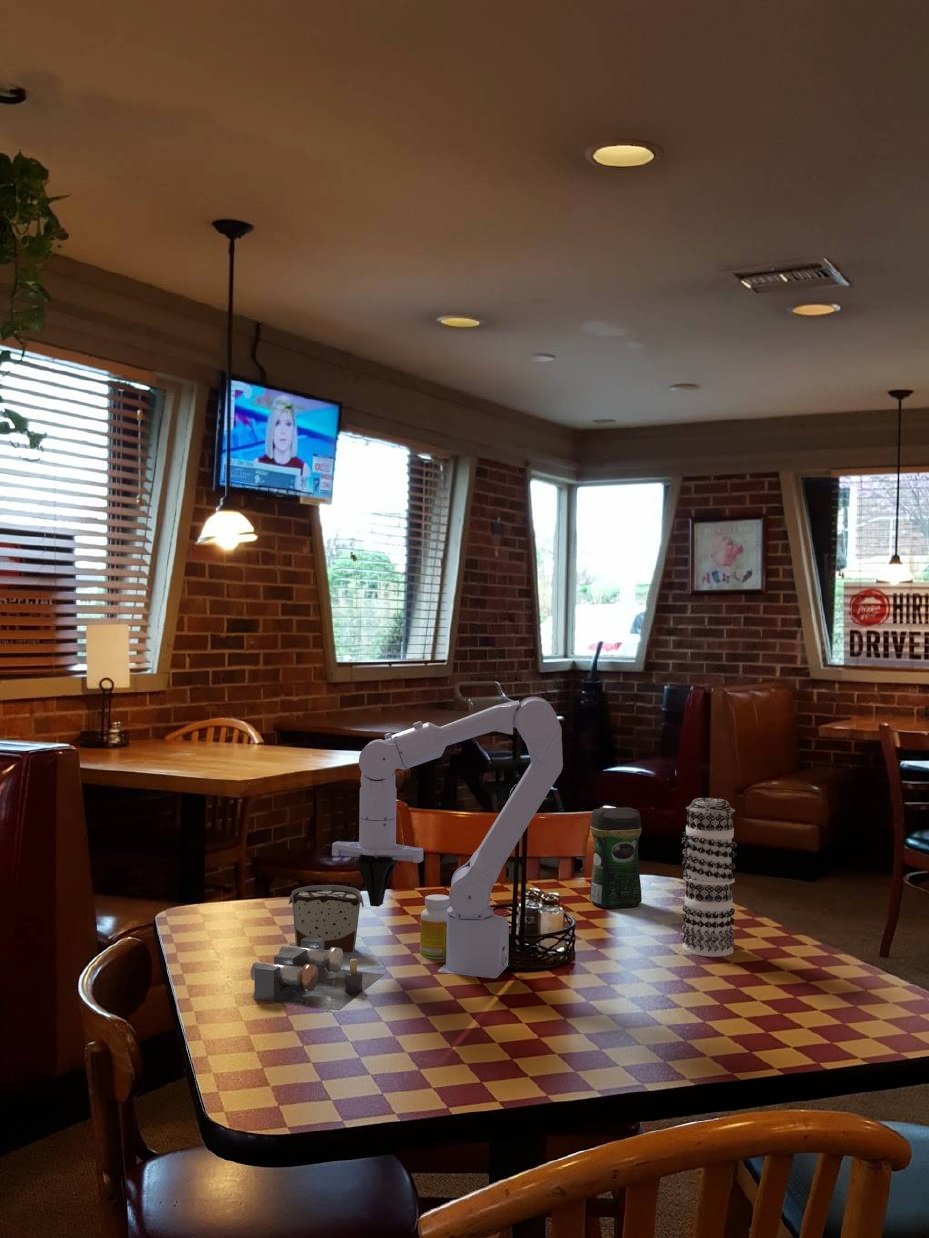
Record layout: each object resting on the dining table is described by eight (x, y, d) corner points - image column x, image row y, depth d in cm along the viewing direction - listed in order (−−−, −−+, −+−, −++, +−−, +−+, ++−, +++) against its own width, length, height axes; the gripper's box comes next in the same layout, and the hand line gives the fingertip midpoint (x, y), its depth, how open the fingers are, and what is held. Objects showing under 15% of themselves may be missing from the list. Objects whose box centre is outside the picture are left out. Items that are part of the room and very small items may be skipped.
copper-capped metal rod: (318, 986, 167) (318, 961, 167) (307, 994, 164) (307, 968, 164) (260, 979, 170) (260, 955, 170) (248, 987, 167) (249, 962, 167)
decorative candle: (668, 948, 195) (670, 798, 195) (702, 938, 201) (704, 793, 201) (713, 960, 188) (715, 806, 188) (746, 950, 194) (749, 800, 194)
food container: (369, 945, 194) (370, 885, 193) (362, 956, 187) (363, 894, 187) (296, 942, 195) (297, 882, 195) (287, 953, 189) (288, 891, 189)
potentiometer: (364, 988, 170) (365, 958, 170) (358, 993, 167) (358, 963, 167) (348, 986, 170) (348, 956, 170) (341, 991, 168) (341, 961, 168)
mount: (384, 978, 176) (384, 945, 176) (339, 1014, 160) (339, 977, 160) (305, 968, 180) (306, 936, 180) (254, 1003, 164) (254, 968, 164)
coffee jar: (629, 897, 229) (630, 803, 229) (646, 907, 222) (648, 810, 222) (583, 900, 227) (585, 805, 227) (599, 910, 219) (601, 812, 219)
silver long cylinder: (342, 968, 176) (343, 945, 176) (333, 975, 173) (333, 951, 173) (287, 962, 179) (288, 939, 179) (277, 969, 175) (277, 945, 175)
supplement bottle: (449, 963, 184) (450, 902, 184) (416, 960, 186) (417, 899, 185) (456, 953, 190) (457, 894, 190) (424, 951, 191) (425, 892, 191)
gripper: (324, 818, 179) (323, 906, 179) (412, 825, 175) (411, 915, 175) (342, 811, 186) (341, 896, 186) (428, 817, 182) (427, 904, 182)
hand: (376, 904), depth 181 cm, fingers closed
